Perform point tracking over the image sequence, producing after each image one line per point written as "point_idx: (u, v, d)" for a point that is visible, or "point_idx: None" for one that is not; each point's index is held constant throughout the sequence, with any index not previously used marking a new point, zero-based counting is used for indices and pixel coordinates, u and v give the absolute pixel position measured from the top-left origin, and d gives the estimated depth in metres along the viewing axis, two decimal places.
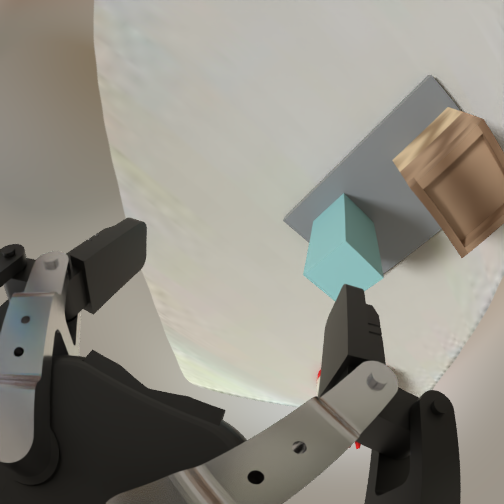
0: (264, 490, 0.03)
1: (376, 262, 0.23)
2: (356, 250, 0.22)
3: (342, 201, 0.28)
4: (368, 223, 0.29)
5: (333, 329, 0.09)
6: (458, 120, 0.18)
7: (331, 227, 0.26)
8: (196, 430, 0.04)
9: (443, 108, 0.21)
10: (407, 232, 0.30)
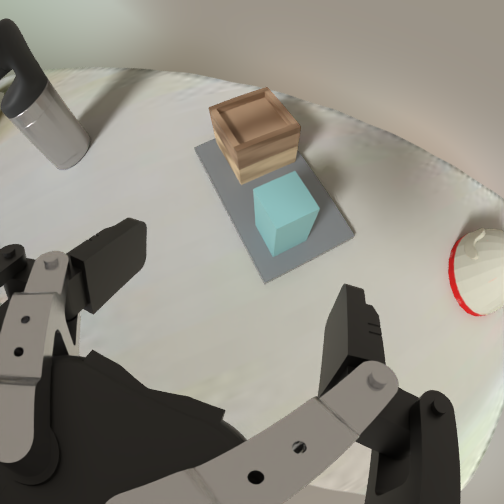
0: (264, 490, 0.03)
1: None
2: (264, 184, 0.29)
3: (255, 220, 0.37)
4: None
5: (333, 329, 0.09)
6: (215, 128, 0.38)
7: (261, 220, 0.33)
8: (196, 430, 0.04)
9: (216, 145, 0.43)
10: None
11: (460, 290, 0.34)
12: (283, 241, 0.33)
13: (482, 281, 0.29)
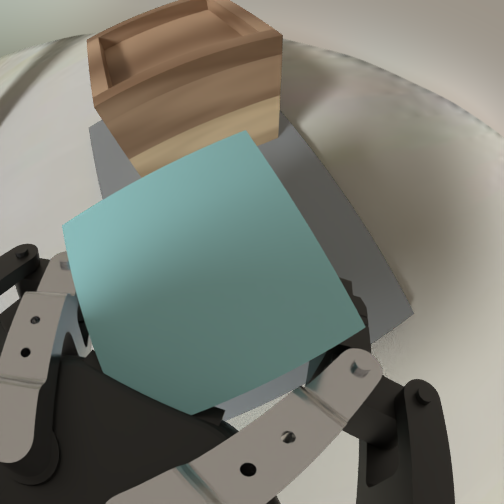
0: (264, 490, 0.03)
1: None
2: (106, 200, 0.06)
3: None
4: None
5: None
6: None
7: None
8: (196, 430, 0.04)
9: None
10: (295, 192, 0.17)
11: None
12: None
13: None
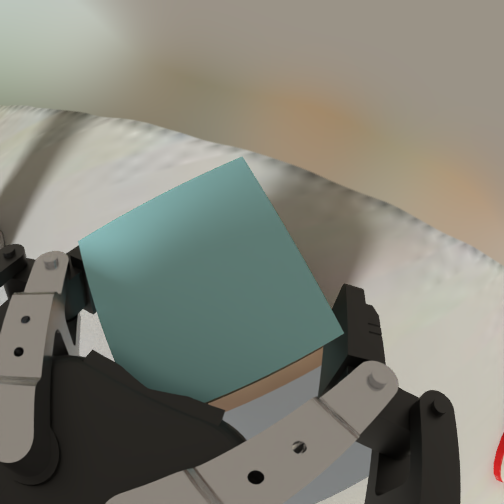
0: (264, 490, 0.03)
1: None
2: (118, 219, 0.07)
3: None
4: None
5: None
6: None
7: None
8: (196, 430, 0.04)
9: None
10: None
11: (502, 473, 0.14)
12: None
13: None
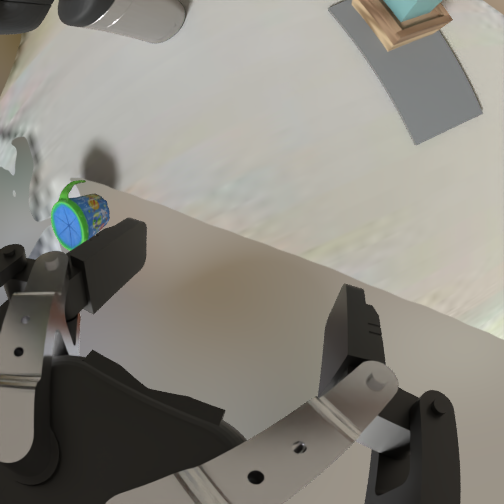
0: (264, 490, 0.03)
1: None
2: None
3: None
4: None
5: (333, 329, 0.09)
6: None
7: None
8: (196, 430, 0.04)
9: (352, 7, 0.27)
10: (442, 60, 0.27)
11: None
12: (417, 7, 0.17)
13: None
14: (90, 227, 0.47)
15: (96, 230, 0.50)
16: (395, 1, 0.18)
